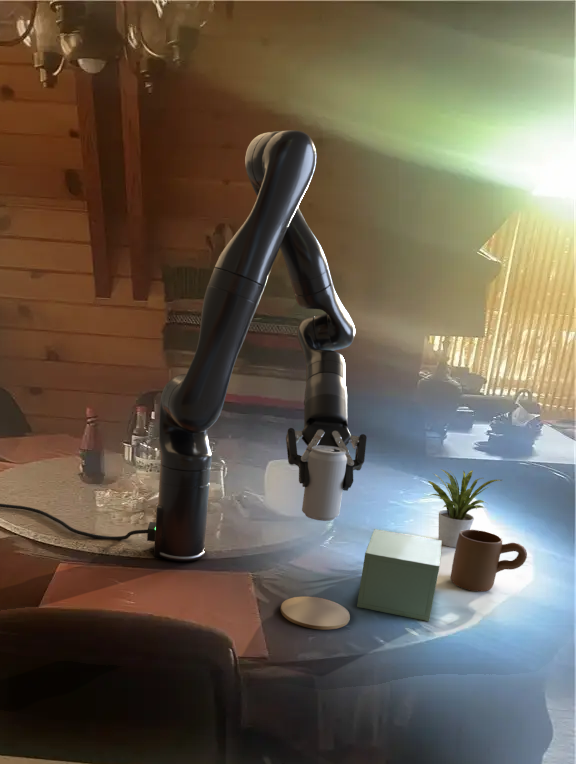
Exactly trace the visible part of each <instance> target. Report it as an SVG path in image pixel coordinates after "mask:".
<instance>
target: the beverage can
mask: <svg viewBox="0 0 576 764" xmlns="http://www.w3.org/2000/svg"><path fill="white" fill-rule="evenodd" d="M333 449H334V450H335V451H336V452H330V451H334V450H333ZM345 453H346V451H345V450H344V449H342V448H339V447H334V446H326V445H317V446H313V447H312V451H311V452H310V453H309V457H308V470H309V482H308V485H307V487H304V488H303V489H304V490H303V498H302V499H303V500H302V507H301V511H302V513H303V514H304V516H305V517H307V518H308V519H311V520H314V521H315V520H316V521H320V522H321V521H322V522H330V521H334V520H336V518H338V517H339V516H340V511H341V504H342V498H343V492H344V490H343V484H344V477H345V470H346V463H347V457H346V455H345Z"/></svg>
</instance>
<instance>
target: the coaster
mask: <svg viewBox="0 0 576 764" xmlns="http://www.w3.org/2000/svg"><path fill="white" fill-rule="evenodd" d="M280 613H281V615H282V616H283V617H284V618H285V619H286V620H287V621H289V622H291V623H293V624H295V625H297V626H300V627H303V628H307V629H313V630H323V631H325V630H326V631H328V630H329V631H330V630H337V629H340V628H344V627H345V626H347V625H348V624H349V623H350V619H351V615H350V612H349V611H348V609H347V608H346V607H344V606H343V605H341V604H339V603H337V602H335V601H333V600H330V599H326V598H322V597H317V596H294V597H290V598H287V599H285V600H283V602H282V603H281V604H280Z"/></svg>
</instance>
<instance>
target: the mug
mask: <svg viewBox="0 0 576 764" xmlns="http://www.w3.org/2000/svg"><path fill="white" fill-rule="evenodd" d="M511 552H512V553H513V552H516V553H517V556H516V557H515V558H514V559H500V557H501V554H507V553H511ZM527 558H528V551H527V549H526V548H525V546H524V545H522V544H520V543H517V542H508V543H503V538H502V537H500V536H499V535H497V534H495V533H492V532H489V531H485V530H480V529H470V530H462V531H461V532H460V533H459V537H458V540H457V544H456V547H455V548H454V555H453V558H452V559H453V560H452V565H451V569H450V570H451V571H450V581H451V583H453V584H454V585H455V586H456V587H459V588H461V589H464V590H468V591H472V592H487V591H490V590H492V589H493V587H494V584H495V580H496V575H497V573H499V572H502V571H504V570H507V571H509V570H515V569H519V568H520V567H522V566H523V565H524V563H526V560H527Z"/></svg>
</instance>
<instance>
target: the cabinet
mask: <svg viewBox="0 0 576 764" xmlns="http://www.w3.org/2000/svg"><path fill="white" fill-rule="evenodd" d="M442 545H443V544H442V540H438V539H435V538H431V537H430V538H429V537H425V536H424V537H423V536H419V535H412V534H408V533H406V534H405V533H400V532H396V531H390V530H383V529H377V528H374V529H373V531H372V534H371V536H370V540H369V542H368V544H367V547H366V550H365V552H364V558H363V565H362V571H361V577H360V584H359V591H358V597H357V603H356V607H357V608H362V609H366V610H372V611H377V612H381V613H385V614H391V615H395V616H401V617H406V618H411V619H415V620H420V621H425V622H430V620H431V614H432V608H433V603H434V597H435V593H436V587H437V582H438V576H439V570H440V566H441V565H440V564H441V556H442V555H441V554H442Z"/></svg>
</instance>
